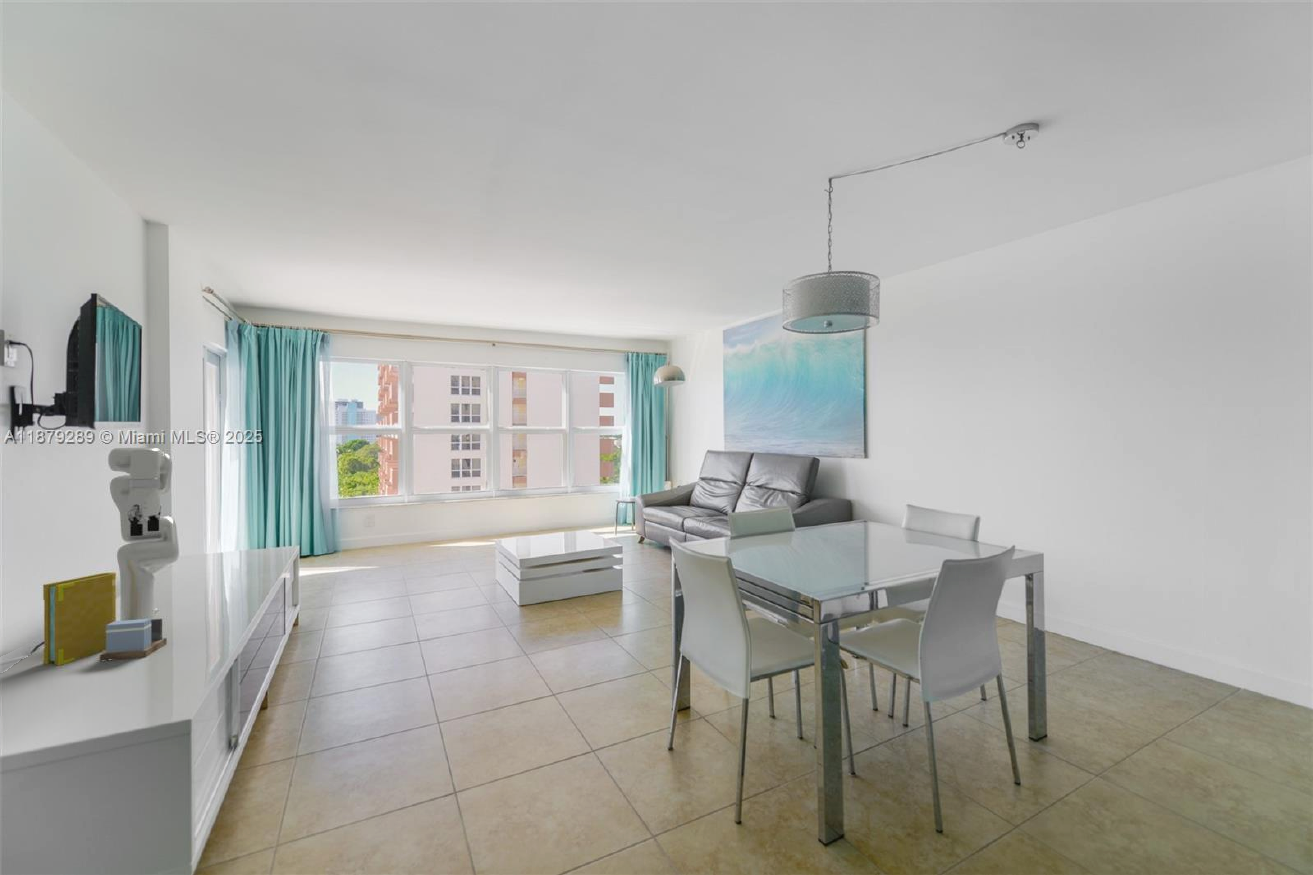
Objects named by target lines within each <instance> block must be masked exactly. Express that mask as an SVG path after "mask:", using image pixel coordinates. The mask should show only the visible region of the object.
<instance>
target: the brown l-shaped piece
mask: <svg viewBox="0 0 1313 875" xmlns="http://www.w3.org/2000/svg"><path fill="white" fill-rule="evenodd" d="M165 645H167V637H163V618H159V619H151V646H150V647H148V648H146V649H145V650H137V651H126V652H115V653H106V651H103V652H102V653H101V654H99V661H100V662H103V661H102V660H107V661H110V660H109V659H118V660H126V658H128V659H136V657H137V659H139V658H146V656H147V655H148V656H150V655H151V654H153V653H155V652H157V651H158V650H159V649H161V648H162V647H164V646H165ZM148 656H147V657H148ZM138 657H139V658H138Z"/></svg>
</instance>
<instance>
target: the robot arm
mask: <svg viewBox="0 0 1313 875" xmlns="http://www.w3.org/2000/svg"><path fill="white" fill-rule="evenodd" d="M107 461H108V462H107V464H108V468H110V470H111V471H113V472H121V473H126V474H124V475H119V476H116V477H114V478H112V479H111V481H110V482H109V492H110V496H111V498H112V500H113V503H114V505H115V506H116V507H117V509H118V511H119V518H120V519H119V520H120V532H121V538H122V540H123V541H124V542H125V543H126V544H124V545H122V546H121V547H119V548H118V550H117V553H116V558H117V560H116V561H117V564H118V569H119V570H118V571H119V580H120V581H119V584H120V585H119V586H120V589H119V590H120V597H119V598H120V602H119V603H120V605H119V608H120V609H119V610H120V614H119V616H120V617H119V618H120V620H119V621H126V620H139V619H160V617H156V616H155V614H157V613H159V610H160V609H159V608H157V607H155V605H156V604H155V603H156V602H155V600H156V599H155V597H156V596H155V594H156V593H155V591H156V590H155V588H156V587H155V586H156V585H155V584H156V583H155V576H154V574H153V573H152V572H150V571H149V570H148V569H146V568H147V567H154V566H160V565H161V566H162V565H168V564H173V563H175V562H177V561H178V559H179V556H180V549H179V541H178V540H179V539H178V530H177V524H176V521H175V519H174V518H173V517H171V516H167V515H163V516H162V515H161V511H162V506H161V502H160V501H161V500H160V496H161V495H165V494H166V493H168V492H169V490H170V488H171V482H172V481H171V480H172V471H173V462H172V458H171V456H170V455H169V454H167V453H164V452H163V451H162V449H160V448H158V447H116V448H113V449H111V450H110V452H109V454H108V458H107Z"/></svg>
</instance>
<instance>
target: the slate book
mask: <svg viewBox="0 0 1313 875" xmlns="http://www.w3.org/2000/svg"><path fill="white" fill-rule="evenodd" d="M150 646H151V619H139V620H126V621H120V620H116V621H114V622H112V623H110V624H108V625H106V650H105V652H106V653H115V652H126V651H137V650H145V649H146V648H148V647H150Z"/></svg>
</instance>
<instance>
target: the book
mask: <svg viewBox="0 0 1313 875" xmlns="http://www.w3.org/2000/svg"><path fill="white" fill-rule="evenodd" d="M42 588H43V589H42V590H43V591H42V593H43V594H42V597H43V598H42V600H43V602H44V603H43V606H44V610H43V612H44V613H43V614H44V615H43V616H44V618H43V621H44V623H43V624H44V628H43V630H44V631H43V632H44V636H43V638H44V641H43V642H44V643H43V645H44V647H43V649H42V651H43V654H42V655H43V656H42V657H43V659H42V660H43V661H42V663H43V664H44V665H50V664H53V663H54V665H55V666H61V665H62V666H63V665H66V664H68V663H72V662H74V661H76V660H80V659H84V658H86V657H90V656H91V655H94V654H98V653H101V651H102V652H104V651H103V650H105V651H106V625H108V624H110V623H112V622H114V621H117V614H116V613H117V574H116V572H103V573H96V574H93V575H87V576H81V577H77V578H72V579H66V580H61V581H56V582H51V583H49V582H48V583H44V584H43V585H42Z"/></svg>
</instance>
